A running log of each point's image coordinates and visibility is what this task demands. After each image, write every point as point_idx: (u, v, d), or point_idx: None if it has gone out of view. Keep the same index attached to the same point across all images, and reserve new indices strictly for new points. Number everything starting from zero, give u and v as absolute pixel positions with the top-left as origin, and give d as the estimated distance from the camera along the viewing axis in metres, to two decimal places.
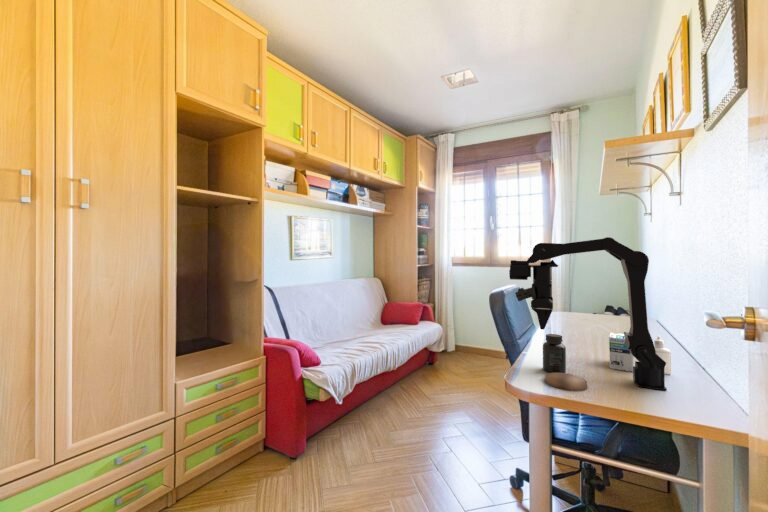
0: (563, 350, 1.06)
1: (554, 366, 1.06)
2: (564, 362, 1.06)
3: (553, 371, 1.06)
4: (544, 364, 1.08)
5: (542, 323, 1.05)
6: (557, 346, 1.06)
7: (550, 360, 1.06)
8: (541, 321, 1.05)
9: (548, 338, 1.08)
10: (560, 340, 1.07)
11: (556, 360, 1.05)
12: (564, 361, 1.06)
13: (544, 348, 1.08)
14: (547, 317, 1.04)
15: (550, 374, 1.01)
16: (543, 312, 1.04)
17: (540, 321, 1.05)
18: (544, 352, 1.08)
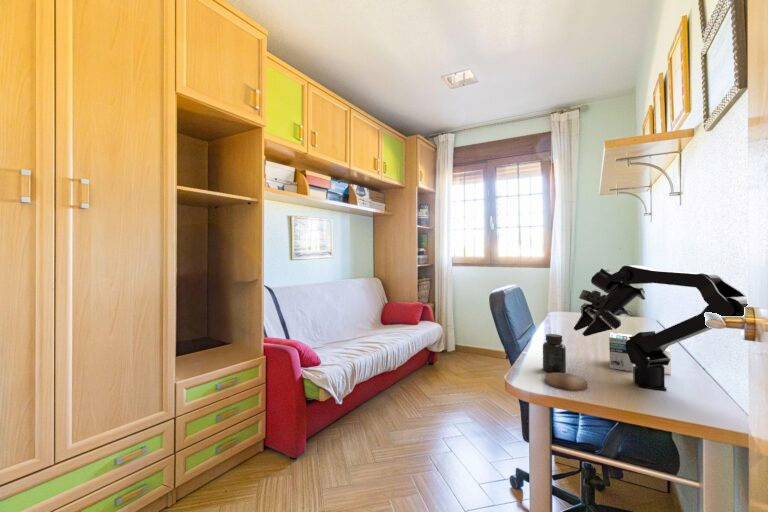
0: (563, 350, 1.06)
1: (554, 366, 1.06)
2: (564, 362, 1.06)
3: (553, 371, 1.06)
4: (544, 364, 1.08)
5: (589, 331, 1.01)
6: (557, 346, 1.06)
7: (550, 360, 1.06)
8: (590, 329, 1.01)
9: (548, 338, 1.08)
10: (560, 340, 1.07)
11: (556, 360, 1.05)
12: (564, 361, 1.06)
13: (544, 348, 1.08)
14: (599, 330, 1.00)
15: (550, 374, 1.01)
16: (600, 324, 1.00)
17: (589, 328, 1.01)
18: (544, 352, 1.08)
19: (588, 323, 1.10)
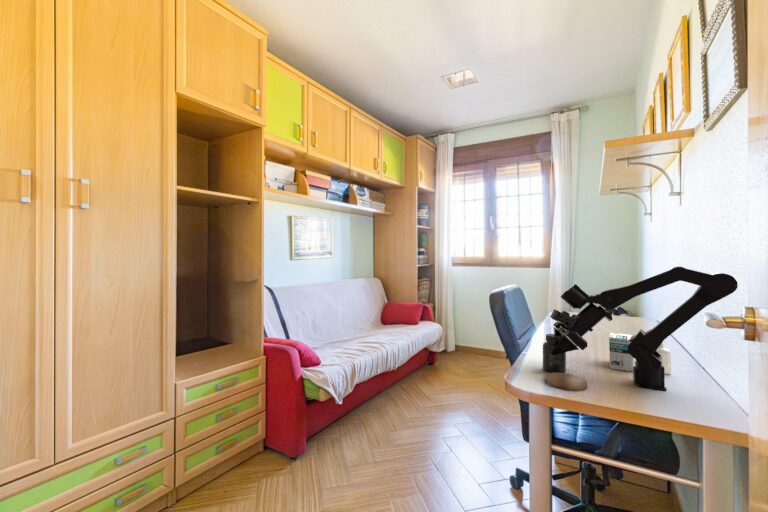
0: None
1: (554, 366, 1.06)
2: (564, 362, 1.06)
3: (553, 371, 1.06)
4: (544, 364, 1.08)
5: (557, 350, 1.04)
6: None
7: (550, 360, 1.06)
8: (558, 348, 1.04)
9: (548, 338, 1.08)
10: (560, 340, 1.07)
11: (556, 360, 1.05)
12: (564, 361, 1.06)
13: (544, 348, 1.08)
14: (566, 350, 1.03)
15: (550, 374, 1.01)
16: (567, 344, 1.03)
17: (557, 348, 1.04)
18: (544, 352, 1.08)
19: None
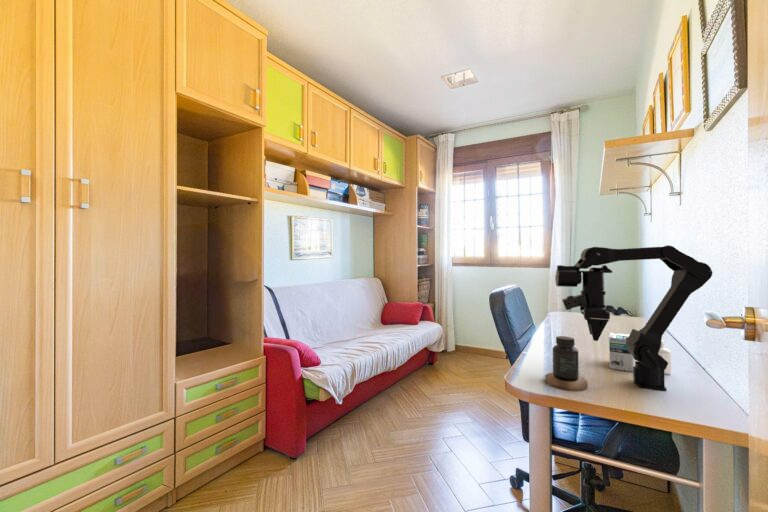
0: (576, 354, 0.95)
1: (566, 372, 0.95)
2: (577, 368, 0.96)
3: (565, 378, 0.95)
4: (554, 370, 0.98)
5: (596, 334, 0.96)
6: (569, 350, 0.95)
7: (561, 365, 0.96)
8: (594, 332, 0.96)
9: (559, 341, 0.98)
10: (572, 343, 0.96)
11: (568, 366, 0.95)
12: (577, 366, 0.96)
13: (554, 352, 0.98)
14: (602, 328, 0.95)
15: (550, 374, 1.01)
16: (597, 322, 0.96)
17: (593, 332, 0.97)
18: (555, 357, 0.98)
19: None
